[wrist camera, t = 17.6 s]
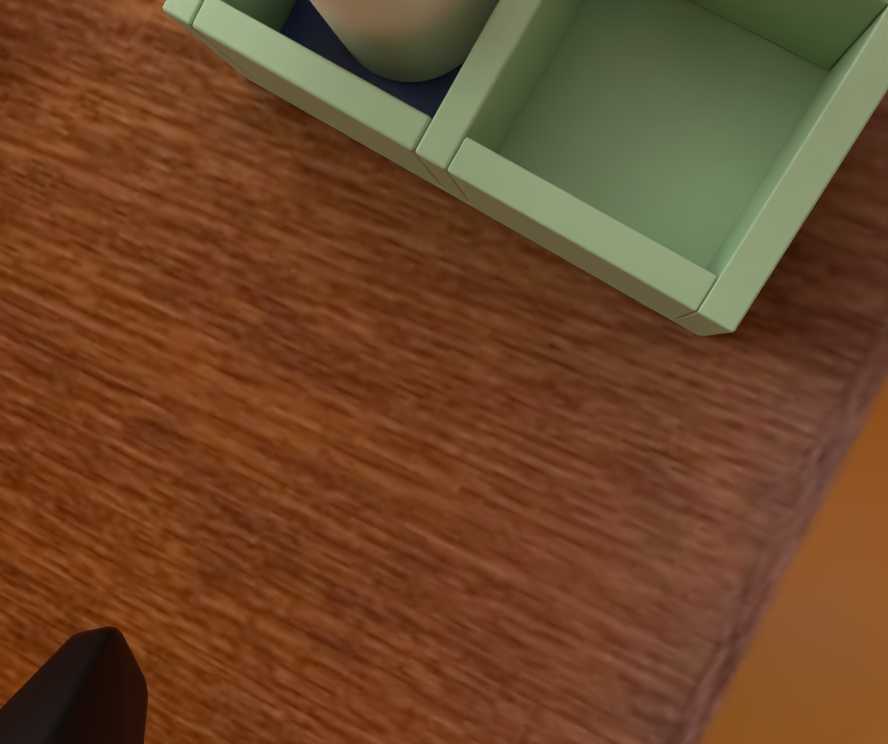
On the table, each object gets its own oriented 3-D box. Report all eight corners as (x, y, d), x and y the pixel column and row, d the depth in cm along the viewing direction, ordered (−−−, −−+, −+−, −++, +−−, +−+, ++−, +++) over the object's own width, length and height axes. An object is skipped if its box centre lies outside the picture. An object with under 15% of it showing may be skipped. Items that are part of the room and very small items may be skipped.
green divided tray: (869, 67, 16) (955, -17, 12) (700, 337, 16) (733, 333, 13) (376, -179, 17) (323, -316, 14) (243, 76, 18) (159, 9, 14)
